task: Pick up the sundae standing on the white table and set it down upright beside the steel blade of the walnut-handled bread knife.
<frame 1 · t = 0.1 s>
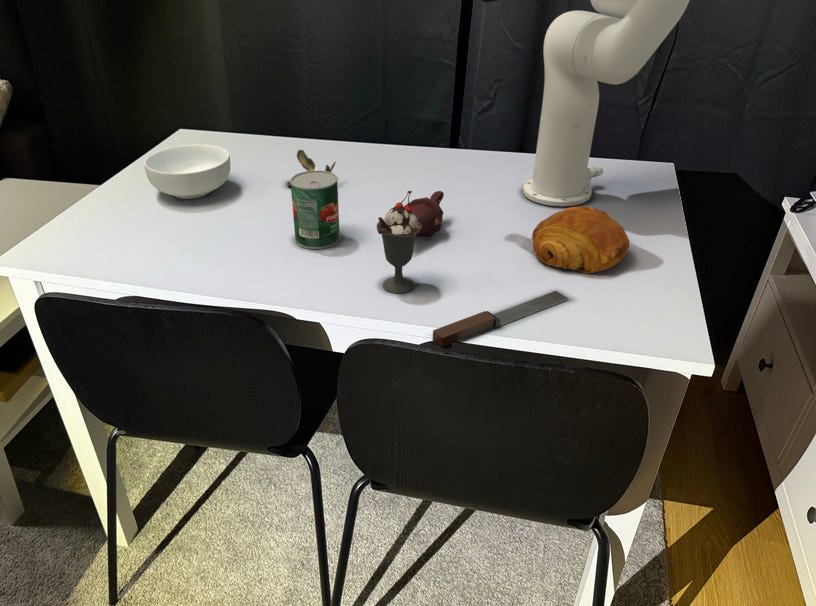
icecream: (422, 236, 124), on the table
canned tomato: (317, 240, 124), on the table
croissant: (579, 255, 116), on the table
eagle figurine: (309, 186, 144), on the table
sundae: (398, 286, 110), on the table
knife: (506, 316, 102), on the table
cereal bowl: (192, 192, 143), on the table
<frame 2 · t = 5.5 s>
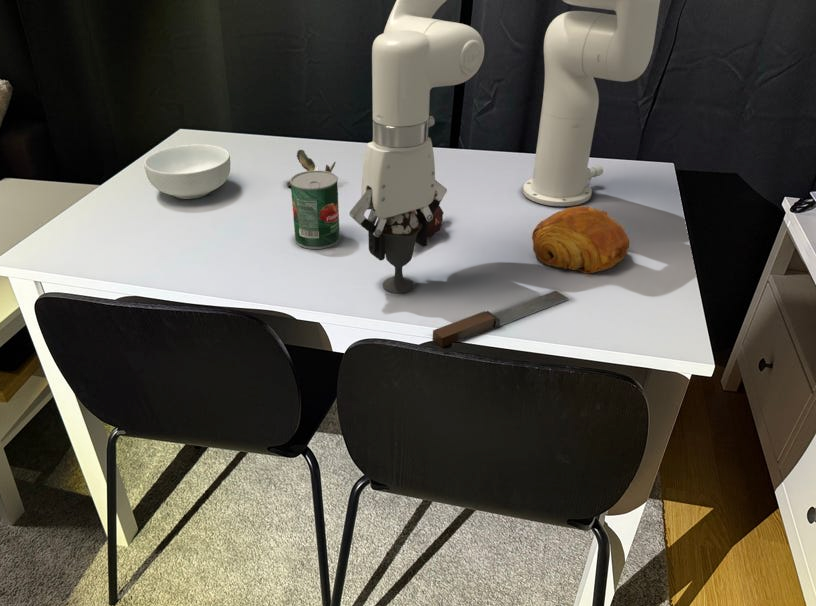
hand: (398, 249, 106), 6 cm above the table, tool pointing down, fingers closed on sundae, 6 cm apart
sundae: (398, 286, 110), on the table, touching gripper
everything else where it was.
when the fingers open (6 cm above the table, at t = 14.2 s): sundae stays where it is, on the table.
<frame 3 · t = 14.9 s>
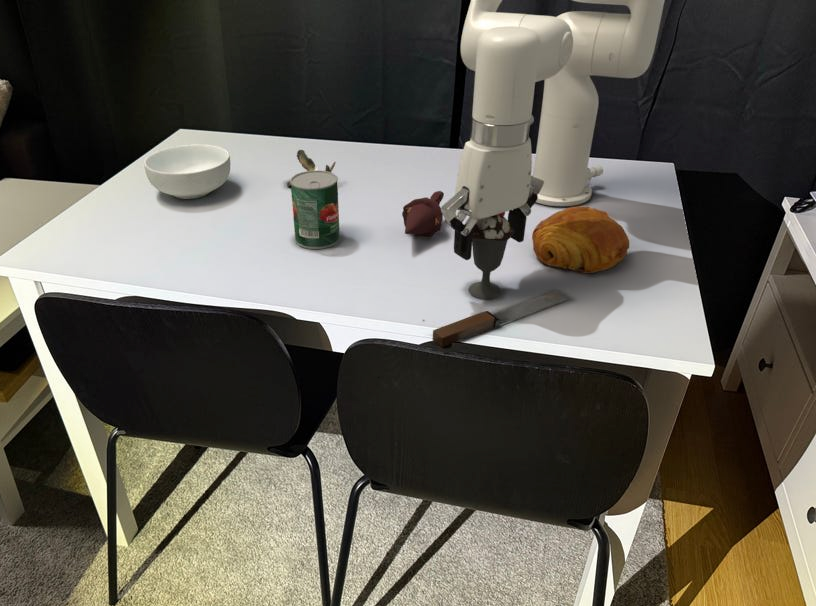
hand: (488, 247, 104), 7 cm above the table, tool pointing down, fingers open, 9 cm apart
sundae: (484, 291, 108), on the table
everything else where it was.
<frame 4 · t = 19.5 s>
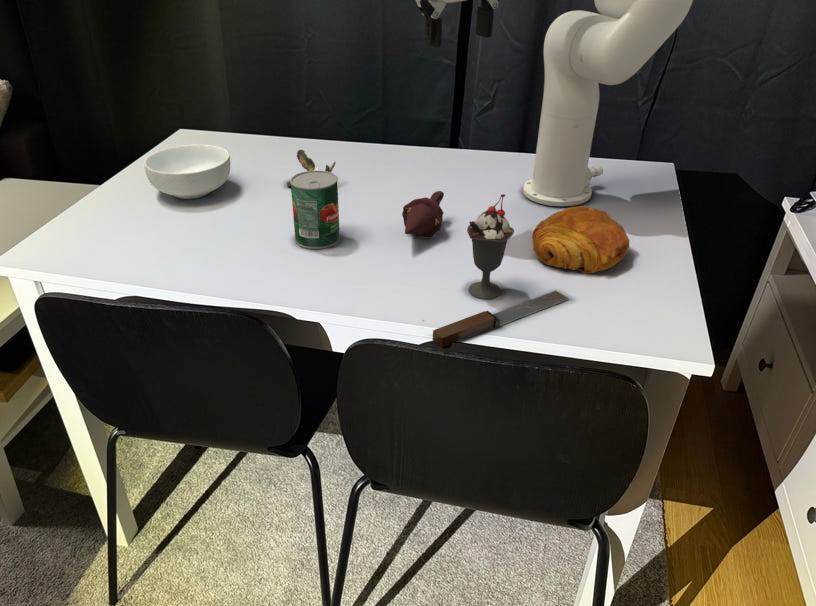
hand: (458, 40, 110), 30 cm above the table, tool pointing down, fingers open, 9 cm apart
nothing on the table moved.
at the end: sundae inside the target area on the table beside the knife (1.2 cm from its centre), on the table; sundae tilted 0°; sundae touching table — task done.
